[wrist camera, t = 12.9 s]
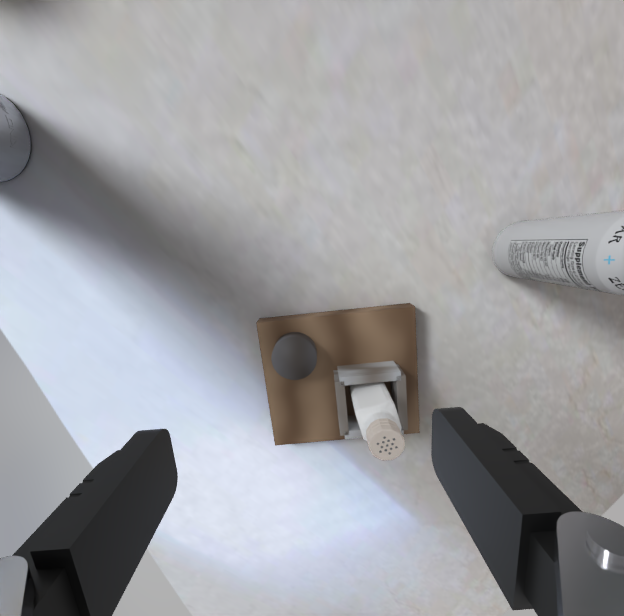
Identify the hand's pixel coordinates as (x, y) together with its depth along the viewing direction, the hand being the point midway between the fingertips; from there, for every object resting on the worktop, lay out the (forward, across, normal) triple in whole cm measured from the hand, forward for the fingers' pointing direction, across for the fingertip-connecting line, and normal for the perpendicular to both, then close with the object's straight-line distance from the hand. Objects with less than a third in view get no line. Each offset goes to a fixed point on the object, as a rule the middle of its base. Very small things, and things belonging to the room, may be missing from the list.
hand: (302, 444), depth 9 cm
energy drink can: (+26, -24, -4) cm, 36 cm away
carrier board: (+26, -4, +10) cm, 29 cm away
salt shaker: (+25, -7, +12) cm, 28 cm away
